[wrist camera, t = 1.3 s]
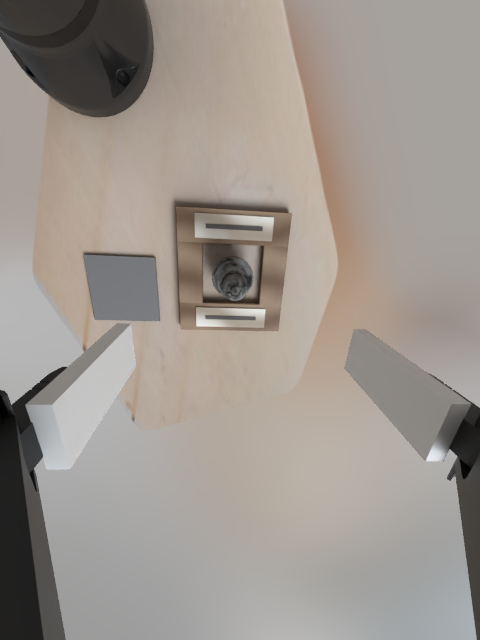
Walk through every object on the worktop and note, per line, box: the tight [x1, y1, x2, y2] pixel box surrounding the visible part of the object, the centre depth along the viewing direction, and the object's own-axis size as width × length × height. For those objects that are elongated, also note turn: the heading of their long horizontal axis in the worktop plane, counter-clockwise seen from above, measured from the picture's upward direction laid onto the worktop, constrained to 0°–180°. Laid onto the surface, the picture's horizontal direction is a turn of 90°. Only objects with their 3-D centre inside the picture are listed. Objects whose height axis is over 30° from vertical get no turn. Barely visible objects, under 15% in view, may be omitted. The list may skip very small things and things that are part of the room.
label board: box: [176, 206, 292, 331], centre depth 36 cm, size 18×16×2 cm
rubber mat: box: [84, 254, 160, 321], centre depth 37 cm, size 10×10×1 cm
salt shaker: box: [212, 257, 254, 301], centre depth 31 cm, size 6×6×12 cm
